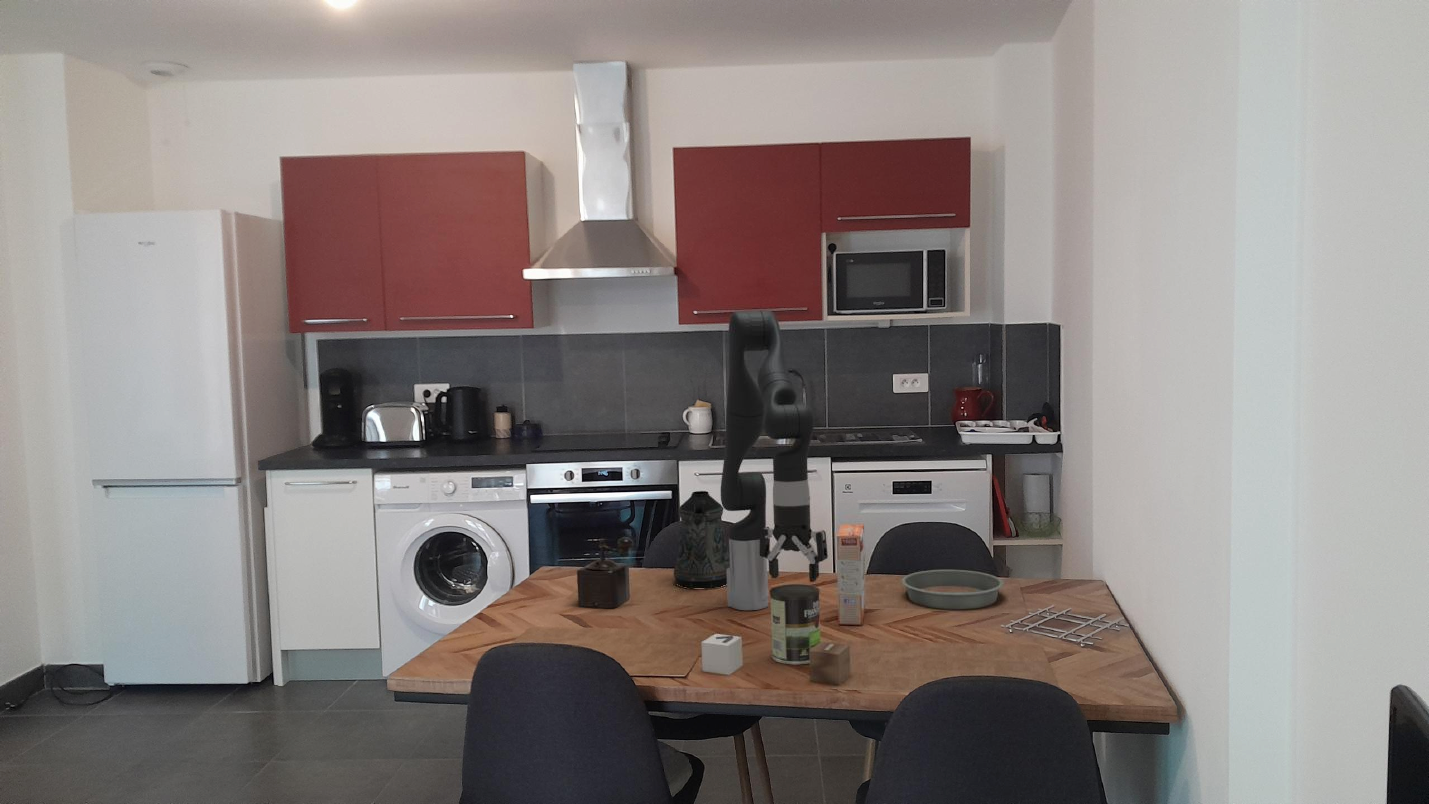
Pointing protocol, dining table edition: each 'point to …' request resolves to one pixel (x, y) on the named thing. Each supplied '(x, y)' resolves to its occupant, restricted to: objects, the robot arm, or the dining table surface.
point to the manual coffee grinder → (605, 579)
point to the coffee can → (794, 622)
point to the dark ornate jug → (701, 544)
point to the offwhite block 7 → (722, 654)
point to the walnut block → (829, 662)
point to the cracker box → (851, 574)
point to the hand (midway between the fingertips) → (794, 579)
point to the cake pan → (952, 578)
